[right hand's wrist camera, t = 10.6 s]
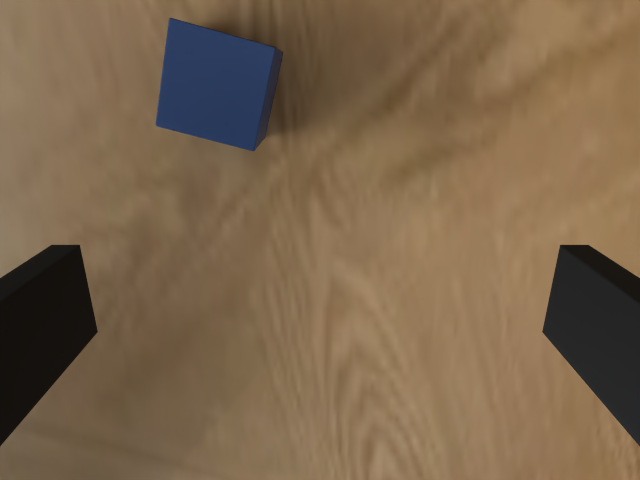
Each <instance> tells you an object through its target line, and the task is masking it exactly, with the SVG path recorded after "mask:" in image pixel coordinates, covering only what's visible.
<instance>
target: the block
mask: <svg viewBox="0 0 640 480" xmlns="http://www.w3.org/2000/svg"><path fill="white" fill-rule="evenodd" d="M282 56H283V52H282V51H280V50H278V49H277V48H275V47H272V46H269V45H265V44H262V43H258V42H255V41H251V40H248V39H244V38H240V37H237V36H233V35H230V34H226V33H223V32H219V31H216V30H212V29H209V28H205V27H202V26H198V25H194V24H191V23H187V22H184V21H180V20H177V19H173V18H169V24H168V32H167V40H166V47H165V55H164V63H163V71H162V78H161V86H160V94H159V101H158V109H157V117H156V126H158V127H162V128H166V129H170V130H173V131H177V132H181V133H185V134H189V135H193V136H197V137H200V138H204V139H208V140H212V141H216V142H220V143H224V144H228V145H231V146H235V147H239V148H243V149H247V150H251V151H254V150H255V149H256V148H257V147H258V145H259V144H260V143H261V142H262V140H263V139H264V138H265V135H266V130H267V126H268V121H269V116H270V112H271V107H272V102H273V98H274V93H275V88H276V84H277V79H278V74H279V70H280V65H281V61H282Z"/></svg>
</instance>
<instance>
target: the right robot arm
mask: <svg viewBox="0 0 640 480" xmlns="http://www.w3.org/2000/svg"><path fill="white" fill-rule="evenodd" d="M97 332H98V331H97V327H96V322H95V317H94V312H93V307H92V302H91V297H90V293H89V288H88V283H87V278H86V273H85V268H84V263H83V259H82V254H81V249H80V245H51V246H49V247H48V248H46V249H45V250H43V251H42V252H40V253H39V254H37V255H35V256H34V257H32V258H31V259H29V260H28V261H26V262H25V263H23V264H22V265H20V266H18V267H17V268H15V269H14V270H12V271H11V272H9V273H8V274H6V275H5V276H3V277H2V278H0V446H1V445H2V444H3V442H4V441H5V440H6V439H7V438H8V437H9V435H10V434H11V433H12V432H13V431H14V429H15V428H16V427H17V426H18V425H19V424H20V422H21V421H22V420H23V419H24V418H25V417H26V415H27V414H28V413H29V412H30V411H31V410H32V408H33V407H34V406H35V405H36V404H37V402H38V401H39V400H40V399H41V398H42V397H43V395H44V394H45V393H46V392H47V391H48V390H49V388H50V387H51V386H52V385H53V384H54V383H55V381H56V380H57V379H58V378H59V377H60V376H61V374H62V373H63V372H64V371H65V370H66V368H67V367H68V366H69V365H70V364H71V363H72V361H73V360H74V359H75V358H76V357H77V356H78V354H79V353H80V352H81V351H82V350H83V349H84V347H85V346H86V345H87V344H88V343H89V341H90V340H91V339H92V338H93V337H94V336H95V334H96V333H97ZM542 332H543V333H544V334H545V336H546V337H547V338H548V339H549V340H550V341H551V343H552V344H553V345H554V346H555V347H556V349H557V350H558V351H559V352H560V353H561V354H562V356H563V357H564V358H565V359H566V360H567V361H568V363H569V364H570V365H571V366H572V367H573V368H574V370H575V371H576V372H577V373H578V374H579V376H580V377H581V378H582V379H583V380H584V381H585V383H586V384H587V385H588V386H589V387H590V388H591V390H592V391H593V392H594V393H595V394H596V395H597V397H598V398H599V399H600V400H601V401H602V402H603V404H604V405H605V406H606V407H607V408H608V410H609V411H610V412H611V413H612V414H613V415H614V417H615V418H616V419H617V420H618V421H619V422H620V424H621V425H622V426H623V427H624V428H625V429H626V431H627V432H628V433H629V434H630V435H631V437H632V438H633V439H634V440H635V441H636V442H637V444H638V445H639V446H640V278H638V277H637V276H635V275H634V274H632V273H631V272H629V271H628V270H626V269H625V268H623V267H622V266H620V265H618V264H617V263H615V262H614V261H612V260H611V259H609V258H608V257H606V256H605V255H603V254H601V253H600V252H598V251H597V250H595V249H594V248H592V247H591V246H589V245H560V249H559V254H558V259H557V263H556V268H555V273H554V278H553V283H552V288H551V293H550V297H549V302H548V307H547V312H546V317H545V322H544V327H543V331H542Z"/></svg>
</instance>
